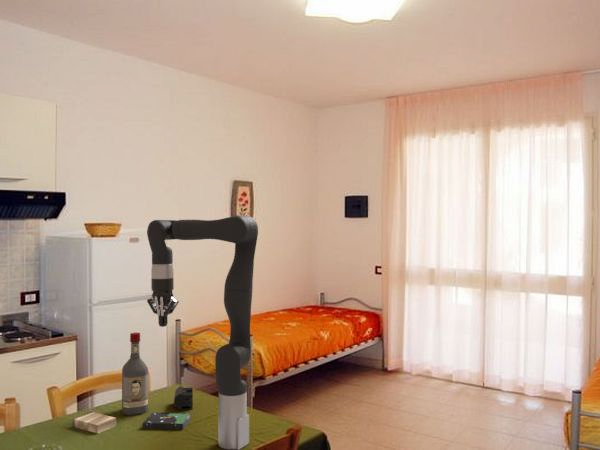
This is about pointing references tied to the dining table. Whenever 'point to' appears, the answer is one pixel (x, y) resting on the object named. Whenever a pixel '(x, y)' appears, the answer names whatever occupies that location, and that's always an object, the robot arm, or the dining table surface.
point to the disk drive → (167, 421)
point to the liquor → (134, 381)
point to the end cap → (183, 398)
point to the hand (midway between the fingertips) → (162, 326)
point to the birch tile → (94, 422)
